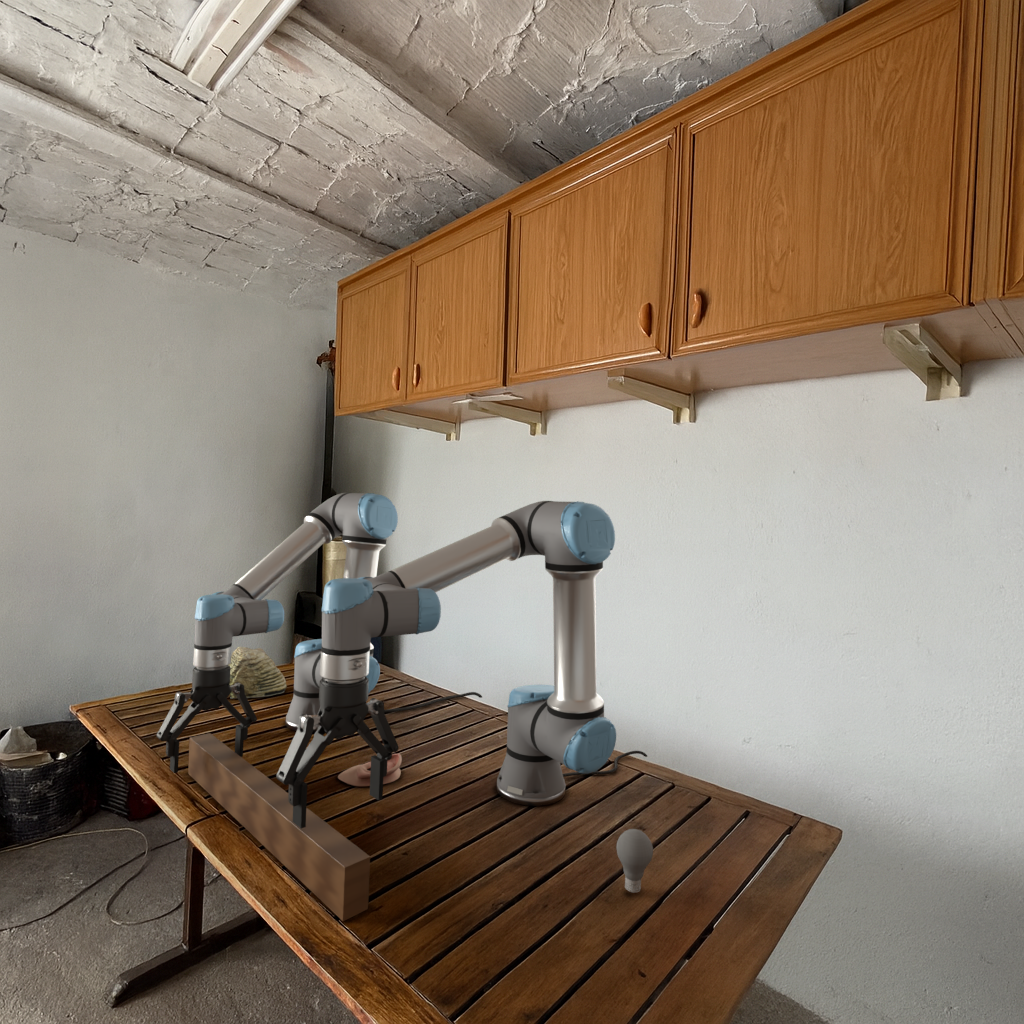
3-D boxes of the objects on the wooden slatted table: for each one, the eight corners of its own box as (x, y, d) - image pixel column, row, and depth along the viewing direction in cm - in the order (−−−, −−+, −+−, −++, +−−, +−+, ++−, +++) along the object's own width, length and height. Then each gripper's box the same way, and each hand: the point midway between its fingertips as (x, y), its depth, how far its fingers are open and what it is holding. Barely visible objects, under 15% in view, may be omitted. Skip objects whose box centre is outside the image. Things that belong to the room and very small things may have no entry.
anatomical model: (331, 765, 140) (354, 745, 151) (331, 782, 140) (354, 762, 151) (388, 772, 137) (407, 752, 148) (387, 791, 137) (406, 769, 148)
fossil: (218, 695, 195) (220, 647, 195) (278, 685, 208) (279, 640, 207) (228, 703, 189) (230, 653, 188) (289, 692, 201) (290, 645, 201)
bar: (188, 773, 142) (189, 737, 142) (208, 768, 145) (210, 732, 145) (342, 921, 95) (344, 867, 95) (368, 908, 98) (370, 856, 98)
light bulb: (610, 879, 108) (613, 822, 108) (644, 879, 109) (647, 822, 109) (619, 902, 102) (622, 840, 102) (655, 901, 103) (658, 840, 103)
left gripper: (154, 678, 127) (149, 784, 127) (274, 661, 145) (270, 754, 145) (143, 670, 132) (138, 771, 133) (260, 655, 150) (256, 744, 150)
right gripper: (279, 698, 89) (273, 848, 89) (422, 669, 106) (417, 794, 107) (256, 685, 94) (251, 827, 94) (396, 660, 112) (391, 779, 112)
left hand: (207, 762), depth 139 cm, fingers open, 13 cm apart
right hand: (339, 810), depth 101 cm, fingers open, 13 cm apart
